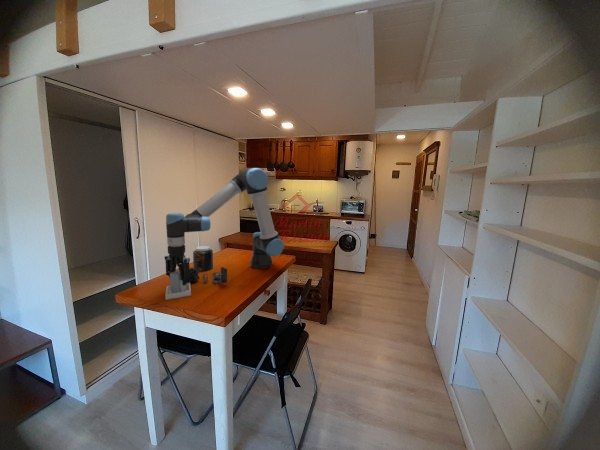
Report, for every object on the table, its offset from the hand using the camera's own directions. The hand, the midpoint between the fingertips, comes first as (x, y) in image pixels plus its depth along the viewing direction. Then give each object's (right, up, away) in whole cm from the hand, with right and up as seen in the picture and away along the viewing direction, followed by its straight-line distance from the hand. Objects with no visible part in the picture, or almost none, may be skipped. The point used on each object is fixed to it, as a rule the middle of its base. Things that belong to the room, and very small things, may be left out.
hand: (178, 289), depth 112 cm
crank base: (+12, 0, +13) cm, 18 cm away
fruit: (-11, +4, +15) cm, 19 cm away
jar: (-2, +3, +34) cm, 34 cm away
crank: (+17, +2, +11) cm, 21 cm away
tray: (0, -2, 0) cm, 2 cm away
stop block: (0, -1, 0) cm, 1 cm away
